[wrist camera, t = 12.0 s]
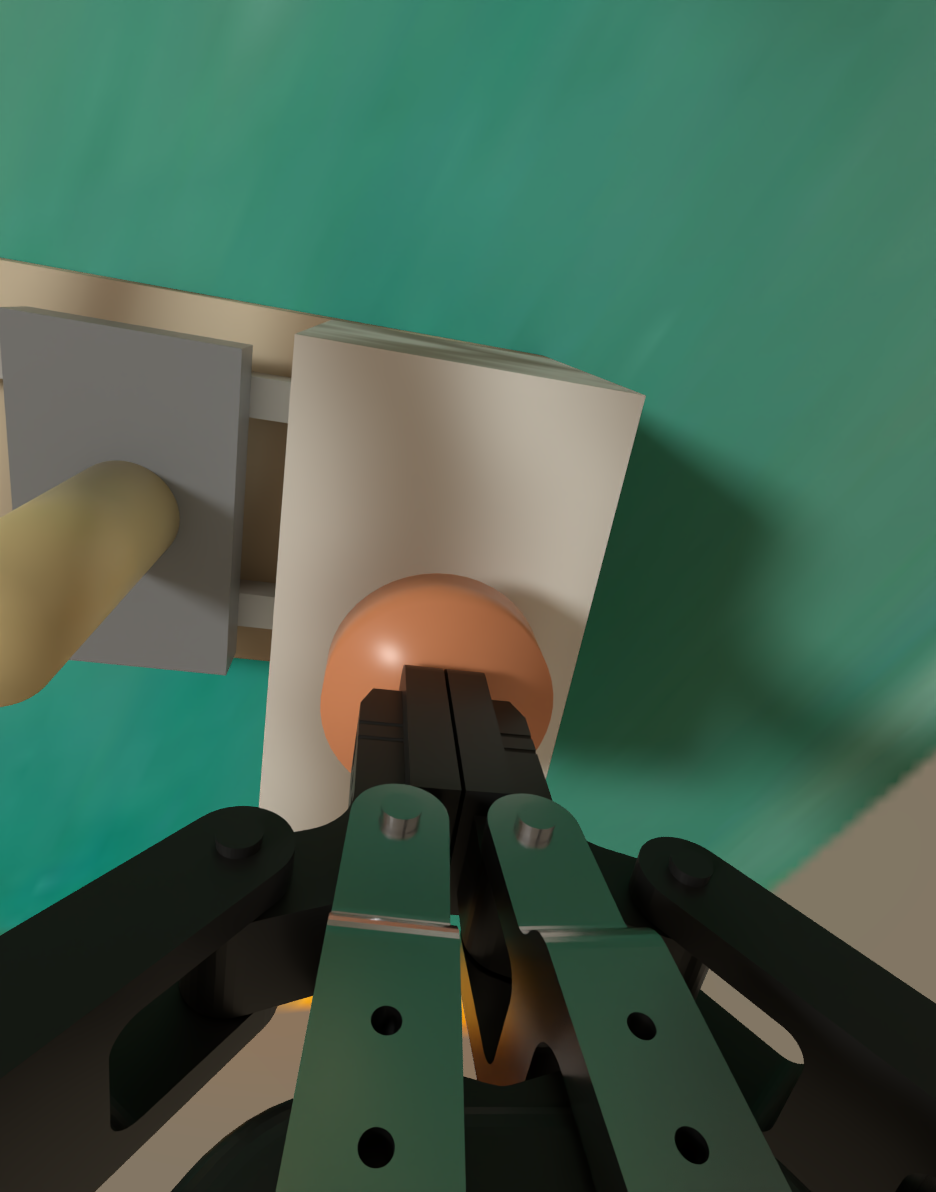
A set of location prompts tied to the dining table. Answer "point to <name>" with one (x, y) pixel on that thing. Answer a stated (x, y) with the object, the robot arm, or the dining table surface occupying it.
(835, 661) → the dining table surface
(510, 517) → the rail board
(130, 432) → the carriage
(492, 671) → the button
